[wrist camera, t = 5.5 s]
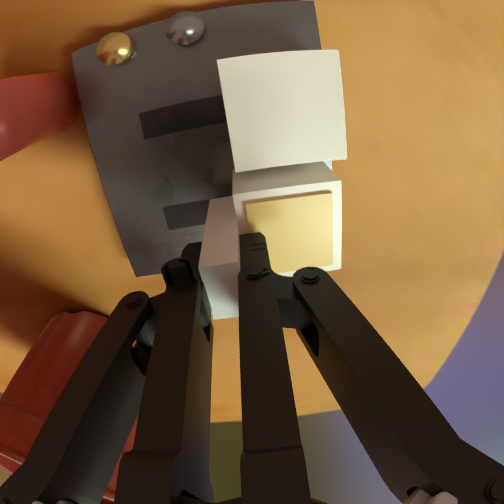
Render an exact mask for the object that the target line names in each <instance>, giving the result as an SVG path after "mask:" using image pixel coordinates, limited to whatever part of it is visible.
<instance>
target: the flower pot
mask: <svg viewBox="0 0 504 504" xmlns="http://www.w3.org/2000/svg"><path fill="white" fill-rule="evenodd" d="M107 319H108V318H106V317H104V316H101V315H99V314H96V313H93V312H88V311H81V312H78V313H69V312H67V311H63V312H60V313H58V314H56V315H55V316H53V317H52V318H51V320H50V321H49V322H48V324H47V325H46V327H45V328H44V330H43V331H42V333H41V334H40V336H39V337H38V339H37V340H36V341H35V343H34V344H33V346H32V348H31V349H30V351H29V352H28V354H27V355H26V357H25V358H24V360H23V362H22V363H21V365H20V366H19V368H18V370H17V371H16V373H15V375H14V376H13V378H12V380H11V381H10V383H9V385H8V386H7V388H6V390H5V392H4V393H3V395H2V397H1V399H0V467H2V468H4V469H5V470H7V471H8V472H10V473H12V474H13V473H14V472H15V471H16V470H17V469H18V468H19V467H20V466H21V465H22V463H23V462H24V461H25V459H26V457H27V455H28V453H29V451H30V449H31V447H32V445H33V443H34V441H35V439H36V437H37V436H38V434H39V432H40V430H41V428H42V426H43V424H44V422H45V421H46V419H47V417H48V415H49V413H50V412H51V410H52V408H53V406H54V404H55V403H56V401H57V399H58V397H59V396H60V394H61V392H62V391H63V389H64V387H65V385H66V384H67V382H68V380H69V379H70V377H71V375H72V374H73V372H74V371H75V369H76V367H77V366H78V364H79V362H80V361H81V359H82V358H83V356H84V354H85V353H86V351H87V350H88V348H89V347H90V345H91V343H92V342H93V340H94V339H95V337H96V336H97V334H98V333H99V331H100V330H101V328H102V327H103V325H104V324H105V322H106V321H107ZM135 344H136V340H135V342H134V343H133V345H132V346H134V345H135ZM137 420H138V416H137V418H136V420H135V423H134V425H133V427H132V430H131V432H130V434H129V437H128V439H127V441H126V444H125V446H124V448H123V451H122V453H121V455H120V458H119V460H118V463H117V465H116V467H115V470H114V472H113V475H112V477H111V480H110V482H109V484H108V487H107V489H106V492H105V494H104V496H103V498H102V500H101V503H100V504H114V498H115V490H116V482H117V475H118V468H119V463H120V459H121V457H122V456H123V454H124V453H126V452H128V451H131V449H132V448H133V444H134V438H135V432H136V426H137Z"/></svg>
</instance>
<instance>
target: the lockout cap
mask: <svg viewBox="0 0 504 504" xmlns="http://www.w3.org/2000/svg"><path fill="white" fill-rule="evenodd" d="M78 105H79V94H78V89H77V86H76V84H75V82H74V81H73V79H72V78H71V77H70V76H68V75H67V74H65V73H62V72H50V73H39V74H30V75H22V76H15V77H8V78H2V79H0V161H2V160H3V159H5V158H7V157H9V156H11V155H13V154H15V153H16V152H18V151H20V150H22V149H24V148H26V147H28V146H30V145H33V144H35V143H37V142H39V141H41V140H43V139H45V138H48V137H50V136H52V135H54V134H57V133H59V132H61V131H63V130H64V129H66V128H67V127H68V126H69V125H70V124H71V122H72V121H73V119H74V117H75V115H76V113H77V110H78Z"/></svg>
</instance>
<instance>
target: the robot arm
mask: <svg viewBox="0 0 504 504" xmlns="http://www.w3.org/2000/svg"><path fill="white" fill-rule="evenodd" d="M160 270H161V272H162V275H163V278H164V281H165V283H166V286H167V287H166V291H165V292H164V293H162V294H159V295H157V296H154V297H151V298H149V296H148V294H146V293H145V292H142V291H135V292H132V293H129V294H127V295H126V296H124V297H123V298H122V299H121V300H120V302H119V303H118V305H117V306H116V307H115V309H114V310H113V312H112V313H111V315H110V316H109V318H108V319H107V321H106V322H105V324H104V325H103V327H102V328H101V330H100V331H99V333H98V334H97V336H96V337H95V339H94V340H93V342H92V343H91V345H90V347H89V348H88V350H87V351H86V353H85V354H84V356H83V358H82V359H81V361H80V362H79V364H78V366H77V367H76V369H75V371H74V372H73V374H72V375H71V377H70V379H69V380H68V382H67V384H66V385H65V387H64V389H63V391H62V392H61V394H60V396H59V397H58V399H57V401H56V403H55V404H54V406H53V408H52V410H51V412H50V413H49V415H48V417H47V419H46V421H45V422H44V424H43V426H42V428H41V430H40V432H39V434H38V436H37V437H36V439H35V441H34V443H33V445H32V447H31V449H30V451H29V453H28V455H27V457H26V459H25V461H24V462H23V463H22V465H21V466H20V467H19V468H18V469H17V470H16V471H15V472H14V473H13V474H12V475H11V476H10V477H9V478H8V479H7V480H6V481H5V482H4V483H3V485H1V487H0V504H100V503H101V500H102V498H103V496H104V494H105V492H106V489H107V487H108V484H109V482H110V480H111V477H112V475H113V472H114V470H115V467H116V465H117V463H118V460H119V458H120V455H121V453H122V451H123V448H124V446H125V444H126V441H127V439H128V437H129V434H130V432H131V430H132V427H133V425H134V423H135V420H136V418H137V416H138V420H137V426H136V432H135V438H134V444H133V448H132V449H131V451H128V452H126V453H124V454H123V456H122V457H121V459H120V463H119V468H118V475H117V482H116V490H115V498H114V504H327V503H325V502H322V501H320V500H317V499H314V498H311V497H310V490H309V483H308V477H307V470H306V464H305V457H304V452H303V448H302V444H301V439H300V432H299V426H298V420H297V413H296V407H295V401H294V395H293V389H292V382H291V376H290V370H289V364H288V358H287V352H286V347H285V341H284V335H283V329H282V327H285V328H295V329H296V332H297V334H298V335H299V337H300V339H301V340H302V342H303V344H304V346H305V347H306V349H307V351H308V353H309V354H310V356H311V358H312V359H313V361H314V363H315V365H316V366H317V368H318V370H319V371H320V373H321V375H322V377H323V378H324V380H325V382H326V383H327V385H328V387H329V389H330V390H331V392H332V394H333V395H334V397H335V399H336V401H337V402H338V404H339V406H340V407H341V409H342V411H343V413H344V414H345V416H346V418H347V419H348V421H349V423H350V424H351V426H352V428H353V430H354V431H355V433H356V435H357V436H358V438H359V440H360V442H361V443H362V445H363V447H364V448H365V450H366V452H367V454H368V455H369V457H370V459H371V460H372V462H373V464H374V466H375V467H376V469H377V471H378V472H379V474H380V476H381V477H382V479H383V481H384V482H385V483H386V485H387V486H388V488H389V489H390V491H391V492H392V493H393V494H394V495H395V496H396V497H397V498H398V499H399V500H400V501H401V502H402V503H403V504H504V466H503V465H502V464H500V463H498V462H497V461H495V460H493V459H492V458H490V457H488V456H486V455H485V454H483V453H482V452H480V451H479V450H477V449H476V448H474V447H473V446H471V445H469V444H468V443H466V442H465V441H463V440H462V439H460V438H459V437H458V435H457V434H456V432H455V431H454V430H453V428H452V427H451V426H450V424H449V423H448V422H447V420H446V419H445V418H444V416H443V415H442V414H441V412H440V411H439V410H438V408H437V407H436V406H435V404H434V403H433V402H432V400H431V399H430V398H429V397H428V395H427V394H426V392H424V390H423V389H422V387H421V386H420V385H419V383H418V382H417V381H416V380H415V378H414V377H413V376H412V375H411V373H410V372H409V371H408V369H407V368H406V367H405V366H404V364H403V363H402V362H401V361H400V359H399V358H398V357H397V356H396V354H395V353H394V352H393V351H392V350H391V348H390V347H389V346H388V345H387V343H386V342H385V341H384V340H383V338H382V337H381V336H380V335H379V334H378V332H377V331H376V330H375V329H374V328H373V326H372V325H371V324H370V323H369V322H368V320H367V319H366V318H365V317H364V316H363V314H362V313H361V312H360V311H359V310H358V308H357V307H356V306H355V305H354V304H353V302H352V301H351V300H350V299H349V298H348V297H347V295H346V294H345V293H344V292H343V291H342V290H341V288H340V287H339V286H338V285H337V284H336V283H335V281H334V280H333V279H332V278H331V277H330V276H329V275H328V273H327V272H326V271H324V270H323V269H321V268H318V267H304V268H301V269H299V270H297V271H296V272H295V273H294V274H293V277H289V276H282V275H279V274H277V273H275V272H274V271H273V270H272V268H271V265H270V260H269V254H268V249H267V243H266V238H265V236H264V235H263V234H262V233H261V232H255V233H249V234H242V235H240V233H239V227H238V222H237V218H236V212H235V207H234V201H233V196H228V197H222V198H216V199H210V202H209V207H208V213H207V218H206V224H205V230H204V236H203V241H201V242H195V243H188V244H187V245H186V246H185V248H184V249H183V250H182V254H181V257H179V258H175V259H172V260H170V261H168V262H166V263H165V264H164V265H163V266H162V268H161V269H160ZM211 312H212V315H213V318H214V320H216V319H225V318H233V317H239V344H240V375H241V403H242V425H243V426H242V427H243V453H242V454H241V459H240V472H241V495H242V497H239V498H235V499H231V500H227V501H223V502H219V503H214V493H213V488H212V485H211V482H210V475H209V464H210V463H209V462H210V407H211V376H212V351H213V325H212V321H211ZM135 340H136V344H135V345H134V346H132V345H133V343H134V342H135Z"/></svg>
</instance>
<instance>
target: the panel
mask: <svg viewBox="0 0 504 504" xmlns="http://www.w3.org/2000/svg"><path fill="white" fill-rule="evenodd" d="M302 50H321V44H320V37H319V30H318V24H317V18H316V12H315V6H314V1H278V2H263V3H252V4H243V5H235V6H228V7H221V8H215V9H209V10H204V11H198V12H192V11H182V12H179V13H176V14H175V15H173V16H172V17H171V18H167V19H164V20H160V21H156V22H153V23H149V24H146V25H143V26H139V27H136V28H133V29H130V30H127V31H124V32H112V33H109V34H107V35H105V36H104V37H103V38H102V39H101V40H100V41H97V42H95V43H92V44H90V45H87V46H85V47H83V48H81V49H78V50H76V51H74V52H72V53H71V56H72V62H73V68H74V74H75V79H76V84H77V89H78V94H79V99H80V103H81V108H82V112H83V117H84V121H85V125H86V129H87V133H88V137H89V141H90V144H91V148H92V152H93V155H94V159H95V162H96V166H97V169H98V172H99V176H100V179H101V182H102V185H103V189H104V192H105V195H106V198H107V201H108V204H109V207H110V210H111V213H112V215H113V218H114V221H115V224H116V227H117V229H118V232H119V235H120V238H121V240H122V243H123V245H124V248H125V251H126V253H127V256H128V258H129V261H130V263H131V266H132V268H133V271H134V273H135V275H136V277H139V276H146V275H154V274H161V273H162V272H161V270H160V269H161V268H162V266H163V265H164V264H165V263H166V262H168V261H170V260H172V259H175V258H179V257H181V254H182V250H183V249H184V248H185V246H186V245H187V244H188V243H195V242H201V241H203V236H204V230H205V224H206V218H207V213H208V207H209V202H210V199H216V198H222V197H228V196H233V195H232V185H233V169H235V166H234V160H233V154H232V148H231V142H230V136H229V130H228V124H227V118H226V112H225V106H224V100H223V94H222V88H221V82H220V76H219V70H218V64H217V60H219V59H225V58H231V57H238V56H245V55H254V54H262V53H273V52H285V51H302ZM323 162H324V163H325V164H326V165H327V166H328V167H329V168H330V169H331V170H332V162H331V161H323Z"/></svg>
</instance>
